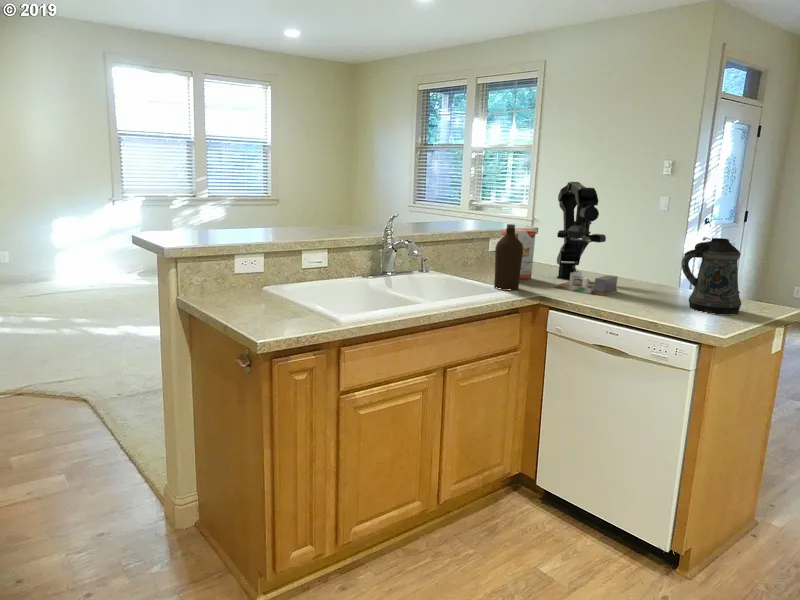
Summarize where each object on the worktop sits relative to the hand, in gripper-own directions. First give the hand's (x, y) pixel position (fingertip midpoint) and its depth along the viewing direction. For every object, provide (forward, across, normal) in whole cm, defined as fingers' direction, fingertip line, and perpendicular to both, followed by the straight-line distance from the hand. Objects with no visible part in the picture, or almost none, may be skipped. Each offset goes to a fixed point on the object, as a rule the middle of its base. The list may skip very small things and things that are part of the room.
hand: (579, 257), depth 249 cm
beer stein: (+11, +53, -4) cm, 54 cm away
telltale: (+10, +9, -11) cm, 18 cm away
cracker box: (+12, -25, -8) cm, 29 cm away
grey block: (+10, +4, -7) cm, 13 cm away
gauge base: (+12, +7, -6) cm, 15 cm away
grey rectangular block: (+11, +15, -5) cm, 19 cm away
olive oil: (+12, -14, -31) cm, 36 cm away
